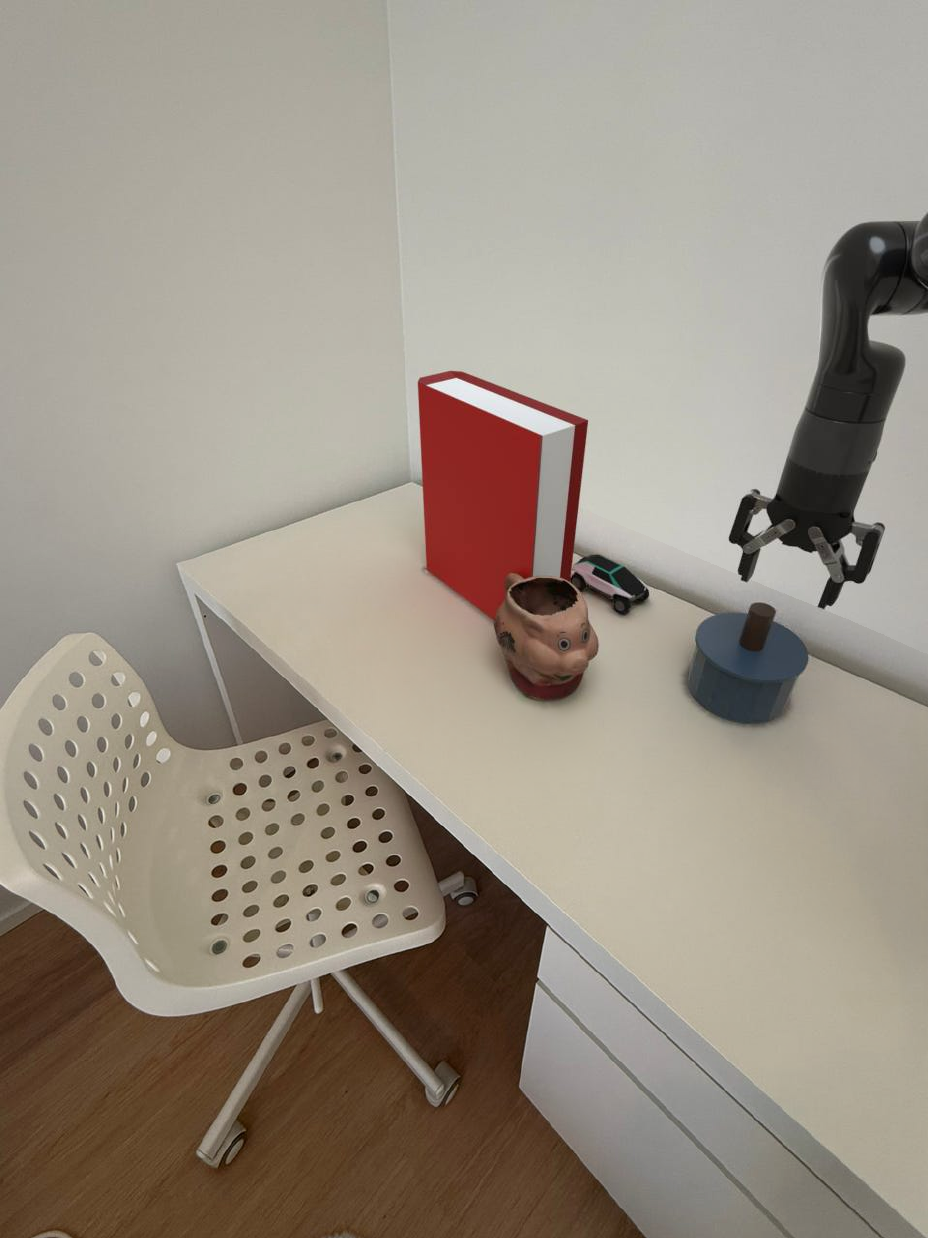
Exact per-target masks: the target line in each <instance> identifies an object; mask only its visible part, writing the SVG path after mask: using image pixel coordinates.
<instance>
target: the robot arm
mask: <svg viewBox="0 0 928 1238" xmlns="http://www.w3.org/2000/svg"><path fill="white" fill-rule="evenodd" d="M924 314H925V315H926V314H928V211H927V212H926V213H925V215H923V217H922V218H921V219H920V220H891V221H890V220H876V221H875V220H874V221H873V220H872V221H865V222H861V223H858V224H855V225H854V226H852V227H850V228H849V229H848V230H847V231H845V232H844V233H843V234H842V235H841V237H840V238H838V240H837V241H835V243H834V245H833V246H832V248H831V249H830V251H829V253H828V255H827V257H826V259H825V262H824V265H823V269H822V273H821V278H820V320H819V321H820V322H819V323H820V324H819V343H818V355H817V356H818V357H817V365H816V369H815V371H814V376H813V379H812V382H811V385H810V389H809V391H808V395H807V398H806V402H805V405H804V407H803V411H802V413H801V415H800V417H799V420H798V422H797V424H796V426H795V429H794V432H793V436H792V439H791V442H790V445H789V448H788V452H787V455H786V458H785V462H784V465H783V468H782V472H781V475H780V479H779V482H778V485H777V488H776V492H775V495H774V497H773V498H770V497H767V496H764V495H762V494H761V492H760V490H759V489H757V488H752V489H750V490H749V491H748V492H747V493H746V494H745V495H744V496H743V497H742V498H741V499H740V503H739V506H738V509H737V512H736V515H735V518H734V520H733V523H732V526H731V530H730V533H729V535H728V542H729V543H731V544H733V545H738V546H739V547H740V548H741V550H742V554H741V556H740V560H739V563H738V567H737V574H738V575H739V576H741V577H740V581H741V582H745V583H749V581H750V580H751V579H752V577H753V576H754V573H755V571H756V567H757V563H758V559H759V556H760V553H761V550H762V548H763V547H765V546H767V545H769V544H770V543H772V542H775V540H777V539H778V540H779V541H780V542H781V545H783V546H787V547H795V548H798V549H800V550H801V551H803V552H806V553H809V554H813V553H815V552H817V553H818V556H819V558H820V561H821V563H822V564H823V565H824V566H825V567H826V569H827V571H828V573H829V575H830V576H829V578H828V579H827V581H826V583H825V586H824V588H823V590H822V593H821V596H820V599H819V601H818V604H817V608H819V609H821V610H825V609H826V607H827V606H829V607H833V605H835V603H836V602H837V600H838V599H839V596H840V594H841V592H842V589H843V587H844V584H845V583H847V582H853V583H855V584H857V585H858V584H859V585H860V584H863V583H864V582H865V581H866V579H867V577H868V575H869V574H870V573H871V571H872V568H873V565H874V563H875V559H876V558H877V557H876V556H877V554H878V551H879V547H880V545H881V541H882V539H883V536H884V533H885V530H886V526H885V524H884V523H882V522H874V523H872V524H870V523H869V524H868V523H864V522H858V521H856V520H855V511H856V510H855V509H856V507H857V504H858V501H859V499H860V498H861V494H862V492H863V489H864V487H865V483H866V481H867V478H868V476H869V474H870V471H871V468H872V465H873V463H874V462H875V461H876V459H877V456H878V449H879V447H880V444H881V441H882V437H883V433H884V427H885V424H886V421H887V417H888V414H889V412H890V410H891V407H892V404H893V401H894V399H895V396H896V394H897V391H898V388H899V386H900V384H901V381H902V378H903V375H904V372H905V369H906V362H907V361H906V360H907V359H906V355H905V353H904V351H903V350H901V349H900V348H898V347H897V346H895V345H891V344H888V343H886V342H881V341H876V340H872V339H870V336H869V322H870V318H871V317H877V316H878V317H882V316H884V317H886V316H887V317H888V316H916V315H917V316H918V315H924ZM763 510H765V511H766V514H767V516H768V519H769V521H770V524H769V525H768V526H766V527H765V528H764V529H762V530H761V531H759V532H758V533H756V534H754V535H753V534H751V533H750V532H749V529H750V525H751V523H752V520H753V517H754V516H755V515H756V516H757V515H758V514H759V513H760V512H761V511H763ZM850 534H852V535H853V536H854V538H855V543H856V545H857V546H859V547H861V548H860V550H859V554H858V556H857V557H858V558H857V560H856V563H855V564H850V563H849V560H848V558H847V556H846V554H845V553H846V552H845V546H844V543H843V542H842V539H843V538H845V537H847V536H848V535H850Z"/></svg>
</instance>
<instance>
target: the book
mask: <svg viewBox="0 0 928 1238" xmlns="http://www.w3.org/2000/svg"><path fill="white" fill-rule="evenodd" d="M417 397H418V417H419V418H418V419H419V420H418V421H419V437H420V439H419V440H420V458H421V460H420V461H421V462H420V463H421V478H422V479H421V480H422V502H423V504H422V505H423V521H424V541H425V542H424V544H425V560H426V561H425V563H426V570H427V571H428V572H429V573H430V574H432V575H433V576H434V577H436V578H437V579H439V580H440V581H441V582H443V584H445V585H446V586H448V587H450V588H451V589H452V590H453V591H454V592H456V593H457V594H458V595H460V596H461V597H462V598H464V599H465V600H466V601H468V602H469V603H471V605H473V606H474V607H476V608H477V609H479V611H481V612H482V613H484V614H485V615H486V616H488V617H489V618H490V619H491V620H493V621H494V619H495V615H496V612H497V610H498V608H499V607H500V606H501V604H502V603H503V602H504V600H505V584H504V581H505V580H506V578H507V576H508V575H509V574H510V573H515V574H518V575H520V576H522V577H523V578H524V579H526V578H529V577H534V576H555V577H560V578H563V579H565V580H567V581H569V582H570V578H571V576H572V567H573V560H574V552H575V551H574V550H575V542H576V533H577V523H578V516H579V507H580V498H581V497H580V496H581V490H582V480H583V470H584V463H585V462H584V461H585V454H586V445H587V435H588V426H589V419H586V418H584V417H582V416H579V415H576V414H573V413H571V412H568V411H565V410H563V409H561V408H558V407H555V406H554V405H550V404H547V403H545V402H542V401H539V400H537V399H535V398H532V397H530V396H526V395H524V394H522V393H519V392H516V391H513V390H511V389H509V388H506V387H503V386H500V385H498V384H496V383H493V382H491V381H488V380H485V379H483V378H480V377H478V376H475V375H473V374H470V373H467V372H465V371H461V370H448V371H443V372H439V373H435V374H430V375H426V376H421V377H419V378H418V380H417ZM570 583H571V582H570Z"/></svg>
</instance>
